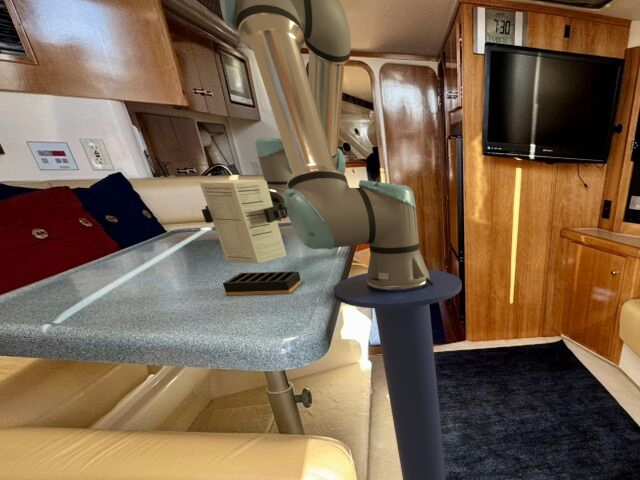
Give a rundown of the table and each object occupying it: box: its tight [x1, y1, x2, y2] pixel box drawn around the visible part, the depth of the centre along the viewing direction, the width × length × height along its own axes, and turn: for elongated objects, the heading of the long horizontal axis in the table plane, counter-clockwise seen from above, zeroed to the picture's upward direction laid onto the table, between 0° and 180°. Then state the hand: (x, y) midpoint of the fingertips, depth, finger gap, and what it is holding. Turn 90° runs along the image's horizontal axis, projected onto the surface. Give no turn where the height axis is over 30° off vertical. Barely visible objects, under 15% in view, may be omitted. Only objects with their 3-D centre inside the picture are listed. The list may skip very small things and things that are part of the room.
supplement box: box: [199, 179, 287, 265], centre depth 91 cm, size 10×9×17 cm
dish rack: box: [222, 271, 302, 296], centre depth 98 cm, size 14×10×3 cm
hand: (236, 216), depth 87 cm, fingers closed on supplement box, 12 cm apart
